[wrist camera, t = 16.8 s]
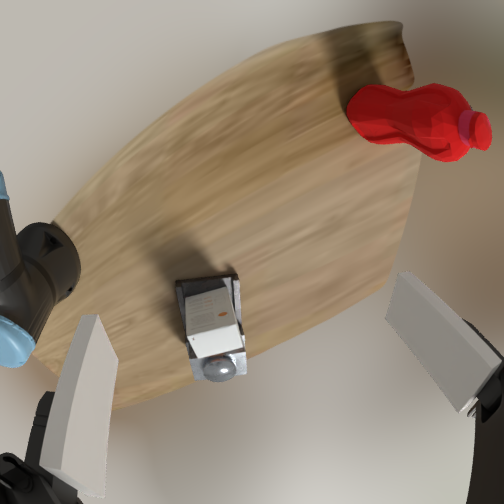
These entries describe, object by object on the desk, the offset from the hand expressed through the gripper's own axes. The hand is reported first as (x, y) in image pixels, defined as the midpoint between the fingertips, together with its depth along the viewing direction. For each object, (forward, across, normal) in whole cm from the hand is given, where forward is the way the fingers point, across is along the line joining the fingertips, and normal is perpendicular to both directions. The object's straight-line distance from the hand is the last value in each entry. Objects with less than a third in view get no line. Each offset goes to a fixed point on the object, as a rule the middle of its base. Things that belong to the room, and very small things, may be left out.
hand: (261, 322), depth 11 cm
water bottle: (+35, +28, +10) cm, 46 cm away
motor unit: (+35, -2, -28) cm, 44 cm away
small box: (+34, -2, -24) cm, 42 cm away
